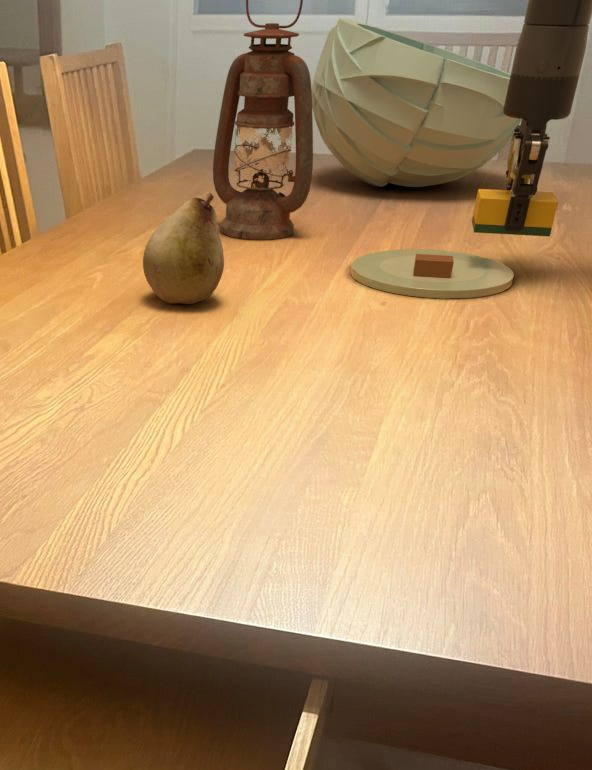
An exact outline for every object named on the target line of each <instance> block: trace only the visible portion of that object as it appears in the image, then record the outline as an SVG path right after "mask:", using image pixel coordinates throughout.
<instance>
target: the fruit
mask: <svg viewBox="0 0 592 770" xmlns="http://www.w3.org/2000/svg"><path fill="white" fill-rule="evenodd" d="M213 200H214V195H213V194H212V193H211V192H208V193H207V195H206V199H203V198H200V197H191V198H190V199H188V200H187V201H185V202H184V203H183V204H182V205H181V206H180V207H179V208H177V210H176V211H175V212H173V214H171V215H169V217H168V218H167V219H166V220H164V221H163V222H162V223H161V224H160V225H159V226H158V227H157V228H156V229H155V230H154V231H153V233H152V234H151V236H150V238H149V239H148V240H147V243H146V245H145V248H144V251H143V255H142V270H143V274H144V277H145V279H146V283H147V284H148V285H149V287H150V288H151V290H152V291H153V293H154V294H155V295H156V296H157V297H158V298H159V299H160V300H162V301H164V303H167V304H169V305H170V304H171V305H172V304H183V305H194V304H196V303H199V302H202V301H204V300H206V299H208V298H210V296H212V295H213V293H214V292H215V290H216V289H217V288H218V285H219V284H220V282H221V280H222V277H223V274H224V270H225V257H224V256H225V255H224V247H223V243H222V239H221V237H220V234H219V231H218V215H217V213H216V210H215V209H214V206H213V205H211V202H212V201H213Z"/></svg>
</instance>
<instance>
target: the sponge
mask: <svg viewBox="0 0 592 770" xmlns="http://www.w3.org/2000/svg"><path fill="white" fill-rule="evenodd" d="M510 191H511V190H506V189H487V188H478V189H477V192H476V198H475V202H474V203H475V204H474V209H473V214H472V217H471V225H472V229H473V233H475V234H476V233H477V234H497V235H513V236H535V237H550V236H551V234H552V229H553V226H554V222H555V218H556V213H557V210H558V205H559V200H558V198H557V197H556V194H555V193H554V192H553V191H537V192H536V193H535V195H533V197H532V198H530V203H529V207H528V211H527V216H526V220H525V224H524V228H523V230H521V231H507V230H506V229H505V221H506V217H507V212H508V207H509V203H510V198H511V194H510Z"/></svg>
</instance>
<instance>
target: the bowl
mask: <svg viewBox="0 0 592 770" xmlns="http://www.w3.org/2000/svg"><path fill="white" fill-rule="evenodd" d="M510 75H511V72H510V73H509V72H507V71H504V70H502V69H499V68H496V67H494V66H492V65H489V64H486V63H483V62H481V61H478V60H475V59H472V58H470V57H467V56H464V55H461V54H458V53H457V52H452V51H450V50H447V49H444V48H441V47H438V46H435V45H433V44H429V43H426V42H422V41H420V40H417V39H414V38H411V37H408V36H405V35H402V34H399V33H397V32H392V31H390V30H386V29H384V28H380V27H377V26H373V25H371V24H366V23H364V22H361V21H356V20H352V19H348V18H341V17H339V18H338V20H337V22H336V25H335V26H333V27H332V28H331V29H330V30H329V32H328V34H327V37H326V40H325V42H324V45H323V48H322V50H321V53H320V56H319V59H318V62H317V66H316V69H315V73H314V75H313V79H312V82H311V89H312V114H313V116H314V117H313V118H314V120H315V123H316V126H317V130H318V132H319V134H320V138H321V139H322V141H323V143H324V144H325V146H326V147H327V149H328V150H329V151H330V153H331V155H333V157H334V158H335V159H336V160H337V161H338V162H339V163H340V164H341V165H342V166H343V167H344V168H345V169H346V170H347V171H348V172H349V173H350V174H351V175H353V176H355V177H356V178H358V179H359V180H360V181H363V182H364V183H366V184H368V185H370V186H373V187H377V186H378V187H385V186H387V185H388V184H393V185H397V186H402V187H403V186H404V187H413V188H421V187H429V186H436V185H440V184H447V183H450V182H453V181H454V182H455V181H456V180H460V179H462V178H464V177H466V176H468V175H470V174H472V173H473V172H475V171H476V170H479V169H480V168H481V167H483V166H484V165H486V164H487V163H488V162H490V161H491V160H493V158H495V156H497V155H498V154H499V153H500V152H501V151H502V150H503V149H504V148H505V147H506V146H507V144H508V143H509V141H511V138H512V135H513V132H514V130H515V128H516V126H517V125H521V121H522V119H518V118H512V117H508V116H506V115H505V114H504V112H503V109H504V104H505V99H506V95H507V90H508V85H509V80H510Z"/></svg>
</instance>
